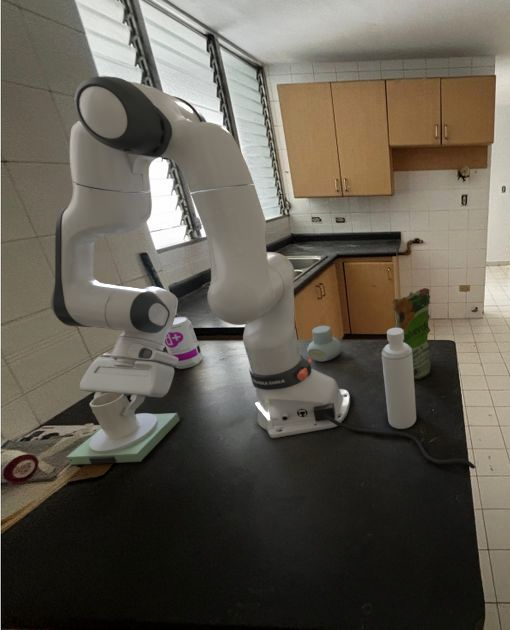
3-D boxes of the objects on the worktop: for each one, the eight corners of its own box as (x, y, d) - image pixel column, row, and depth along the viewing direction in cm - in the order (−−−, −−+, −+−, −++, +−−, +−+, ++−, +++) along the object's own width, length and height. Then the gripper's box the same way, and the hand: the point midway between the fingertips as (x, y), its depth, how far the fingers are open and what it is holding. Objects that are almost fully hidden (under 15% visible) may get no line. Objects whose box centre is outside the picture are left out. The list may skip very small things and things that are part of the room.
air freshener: (347, 352, 111) (343, 325, 107) (334, 365, 104) (329, 336, 100) (319, 348, 114) (314, 322, 110) (304, 361, 107) (298, 333, 103)
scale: (180, 420, 83) (176, 410, 82) (139, 463, 71) (133, 452, 69) (119, 422, 83) (115, 413, 82) (68, 466, 71) (62, 455, 70)
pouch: (432, 359, 105) (429, 283, 95) (435, 381, 94) (432, 297, 84) (396, 361, 104) (390, 285, 95) (395, 383, 93) (388, 300, 84)
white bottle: (400, 406, 84) (392, 315, 74) (421, 416, 80) (416, 321, 71) (382, 422, 79) (371, 326, 69) (404, 433, 75) (396, 334, 66)
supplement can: (193, 369, 105) (177, 326, 100) (167, 370, 106) (150, 327, 100) (208, 356, 113) (195, 315, 107) (184, 357, 113) (170, 316, 107)
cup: (145, 421, 79) (131, 389, 75) (126, 439, 73) (109, 406, 70) (121, 422, 79) (105, 390, 75) (99, 440, 73) (81, 407, 70)
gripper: (86, 348, 77) (57, 410, 72) (162, 352, 74) (138, 417, 69) (113, 355, 83) (88, 413, 78) (185, 359, 80) (164, 420, 75)
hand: (112, 415), depth 73 cm, fingers closed on cup, 6 cm apart
